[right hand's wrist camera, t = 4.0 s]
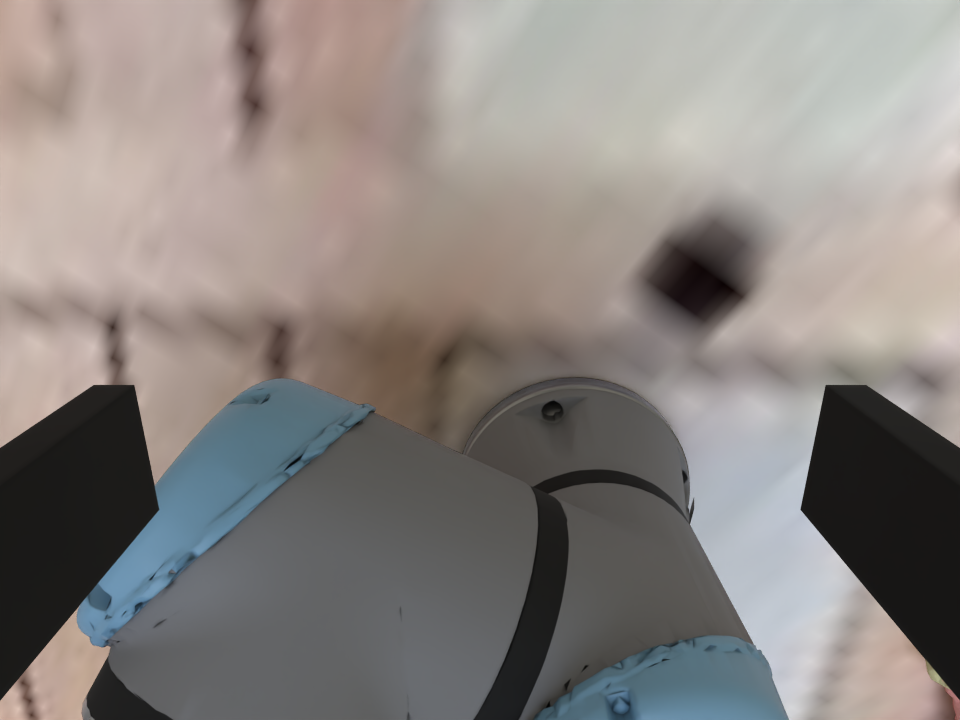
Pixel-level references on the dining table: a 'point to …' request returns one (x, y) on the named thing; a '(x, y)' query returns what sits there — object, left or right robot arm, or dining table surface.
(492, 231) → the dining table surface
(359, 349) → the dining table surface
